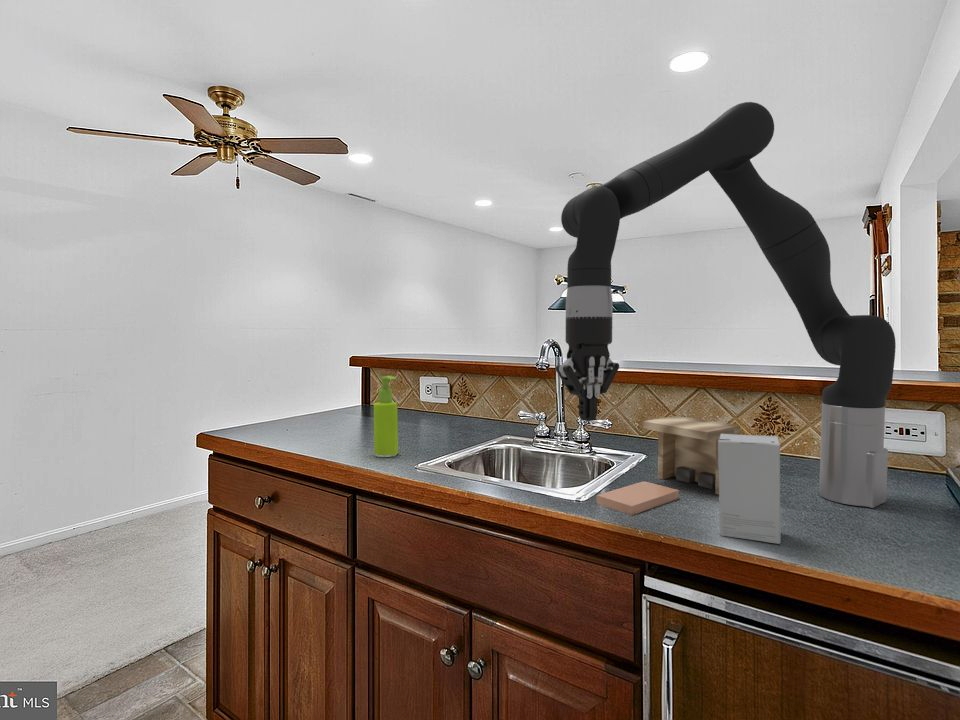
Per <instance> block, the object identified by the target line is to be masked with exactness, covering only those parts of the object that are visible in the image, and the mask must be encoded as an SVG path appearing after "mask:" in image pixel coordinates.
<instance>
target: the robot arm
mask: <svg viewBox="0 0 960 720" xmlns="http://www.w3.org/2000/svg"><path fill="white" fill-rule="evenodd" d="M773 118H774V117H773V116H772V114H771V113H770V111H769V109H768V108H767V107H765V106H764V105H763V104H760V103H757V102H753V101H746V102H741V103H737V104H736V105H734V106H733V105H732V107H730V108H729V109H727V110H726V111H724V112H723V113H722V114H721V115H720V116H718V117H717V118H716V119H715V120H713V121H712V122H711V123H710V124H709V125H707V126H706V127H705V128H704V129H703V130H701V131H700V132H698V133H697V134H694V135H693V136H691V137H690V138H688V139H686V140H684V141H683V142H680V143H679V144H676V145H674V146H672V147H670V148H668V149H667V150H664V151H662V152H660V153H658V154H656V155H654V156H651V157H650V158H647V159H645V160H643V161H641V162H639V163H637V164H636V165H634V166H632V167H630V168H628V169H626V170H624V171H622V172H620V173H619V174H617V175H616V176H615V177H614V178H613V177H612V179H611V180H608V181H607V182H605V183H603V184H601V185H595V186H592V187H589V188H588V189H586V190H584V191H582V192H581V193H579V194H577V195H576V196H574V197H572V198H571V199H570V200H568V201H567V203H566V204H565V205H564V207H563V209H562V211H561V217H560V221H561V226H562V227H563V230H564V231H565V232H566V233H567V234H568V235H569V236H571V237H573V238H576V246H575V249H574V250H573V251H572V253H570V255H569V257H568V259H567V268H566V270H567V277H566V278H567V281H566V282H567V283H566V284H567V289H566V296H565V298H566V299H565V343H566V344H567V345H568V349H567V353H566V360H565V361H564V362H563V363H561V364H557V365H556V366H555V371H556V373H557V374H558V376H559V378H560V379H561V381H562V383H563V385H564V386H565V388H566V389H567V391H568V393H569V394H570V395H574V396H576V397H578V416H579V419H580V420H581V421H585V422H592V421H596V419H597V416H598V398H600V395H602V394H606V393H607V392H608V390H609V388H610V386H611V385H612V382H613V381H614V378H615V377H616V375H617V373H618V371H619V369H620V364H619V363H618V362H614V361H613V360H612V359H611V358H610V355H611V354H610V351H609V345H610V344H612V342H613V312H614V311H613V305H614V304H613V303H614V302H613V294H612V258H613V254H614V251H615V247H616V244H617V243H616V241H617V238H618V234H619V230H620V229H619V228H620V224H621V222H620V220H622V219H624V218H625V217H628V216H631V215H635V214H636V213H639V212H641V211H643V210H645V209H647V208H649V207H651V206H652V205H654V204H657V203H658V202H660V201H662V200H664V199H666V198H667V197H669V196H670V195H672V194H674V193H675V192H677V191H678V190H679V189H681V188H683V187H685V186H686V185H688V184H689V183H690V182H692V181H694V180H695V179H697V178H700V176H702V175H703V174H705V173H707V172H708V173H709V174H710V175H711V177H712V178H713V179H714V180H715V182H716V183H717V185H718V186H719V187H720V188H721V189H722V191H723V192H724V193H725V195H726V196H727V198H729V200H730V202H731V203H732V204H733V206H734V207H735V208H736V210H737V212H738V213H739V215H740V217H741V218H742V220H743V221H744V223H745V224H746V226H747V228H748V229H749V230H750V232H751V234H752V236H753V238H754V240H755V241H756V243H757V245H758V246H759V248H760V250H761V251H762V253H763V255H764V257H765V258H766V261H768V263H769V265H770V267H771V269H773V271H774V272H775V274H776V276H777V277H778V279H779V281H780V283H781V284H782V286H783V288H784V289H785V292H786V293H787V295H788V297H789V298H790V300H791V302H792V303H793V305H794V306H795V309H796V310H797V313H798V315H799V316H800V319H801V321H802V323H803V325H804V328H805V330H806V333H807V335H808V337H809V340H810V341H811V343H812V345H813V348H814V350H815V351H816V353H817V355H819V357H820V358H821V359H822V360H824V361H826V362H827V363H829V364H831V365H834V366H839V373H838V377H837V379H836V381H835V382H833V383H832V384H829V385H828V386H825V387H824V388H823V389H822V395H821V421H820V424H821V425H820V427H821V428H820V456H819V458H820V459H819V482H818V483H819V484H818V485H819V488H818V490H819V493H818V494H819V496H820V497H823V498H824V499H825V500H828V501H832V502H836V503H840V504H844V505H850V506H858V507H866V508H871V509H874V508H876V507H878V506H880V505H882V504H884V503H886V502H887V490H888V489H887V486H888V465H889V464H888V462H889V461H888V460H889V459H888V457H889V450H888V449H887V448H884V444H885V424H886V423H885V420H886V419H885V418H886V417H885V416H886V400H887V397H888V395H889V393H890V391H891V389H892V386H893V385H892V384H893V377H894V368H895V359H896V349H897V347H896V345H897V344H896V335H895V332H894V330H893V328H892V326H891V324H890V323H889V321H887V320H886V319H885V318H883V317H881V316H878V315H872V314H863V315H862V314H861V315H860V314H859V315H858V314H857V315H851V314H849V313H848V311H847V310H846V309H845V307H844V306H843V304H842V303H841V301H840V299H839V297H838V296H837V294H836V292H835V290H834V288H833V287H834V286H833V285H832V278H831V252H830V246H829V243H828V240H827V238H826V236H825V235H824V234H823V232H822V230H821V228H820V227H819V225H818V223H817V222H816V220H815V218H814V217H813V215H812V213H810V211H809V210H808V209H806V208H805V207H804V206H803V205H801V204H800V203H798V202H797V201H795V200H794V199H792V198H790V197H789V196H787V195H784V193H781V192H779V191H778V190H777V189H775V188H773V187H771V186H770V185H769V184H768V183H767V182H766V181H765V180H764V179H763V178H762V177H761V175H760V174H759V173H758V171H757V170H756V168H755V166H754V164H753V163H752V161H751V159H754V158H755V157H757V156H758V155H759V154H760V153H762V152H763V151H764V150H765V149H766V148H767V147H768V146H769V144H770V143H771V141H772V139H773V138H774V137H773V136H774V133H775V122H774V119H773Z"/></svg>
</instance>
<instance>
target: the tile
mask: <svg viewBox="0 0 960 720" xmlns="http://www.w3.org/2000/svg"><path fill="white" fill-rule="evenodd" d="M678 499H680V490H679V489H676V488H671V487H668V486H663V485H659V484H656V483H653V482H652V483H651V482H648V481H643V480H642V481H640V482H635V483H633V484H630V485H626V486H624V487H620V488H616V489H613V490H610V491H605V492H603V493H600V494H596V505H599V506H600V505H601V506H603V507H606V508H608V509H613V510H615V511H619V512H620V513H624V514H627V515H630V516H633V515H634V516H635V515H637V514H639V513H642V512H644V511H647V510H650V509H653V508H656V507H658V506H662V505H664V504H668V503H669V502H674V501H676V500H678Z"/></svg>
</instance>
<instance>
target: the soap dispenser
mask: <svg viewBox="0 0 960 720" xmlns="http://www.w3.org/2000/svg"><path fill="white" fill-rule="evenodd" d="M378 380H381V387H380V388H378V392H377V393H378V401H377V402H375V403H373V449H374V450H373V451H374V453H375V454H377V455H395V454H397V453H398V454H399V428H398V426H399V424H398V421H399V420H398V417H399V416H398V414H399V413H398V412H399V411H398V402H396V401H393V389H392V388H391V387H389V383H390V382H391V381H397V377H395V376H393V375H382V376H378ZM389 381H390V382H389ZM374 453H373V454H374Z"/></svg>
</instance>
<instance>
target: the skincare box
mask: <svg viewBox="0 0 960 720" xmlns="http://www.w3.org/2000/svg"><path fill="white" fill-rule="evenodd" d="M778 437H779V436H777V435H775V436H774V435H754V434H753V435H752V434H751V435H749V434H740V435H735V434H721V435H720V438H719V441H718V467H719V495H718V505H719V506H718V507H719V510H718V511H719V534H720V536H721V537H728V538H736V539H742V540H750V541H757V542H762V543H763V542H764V543H771V544H778V545H779V544H781V541H782V539H781V538H782V536H781V535H782V533H781V443H780V439H779V438H778Z"/></svg>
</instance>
